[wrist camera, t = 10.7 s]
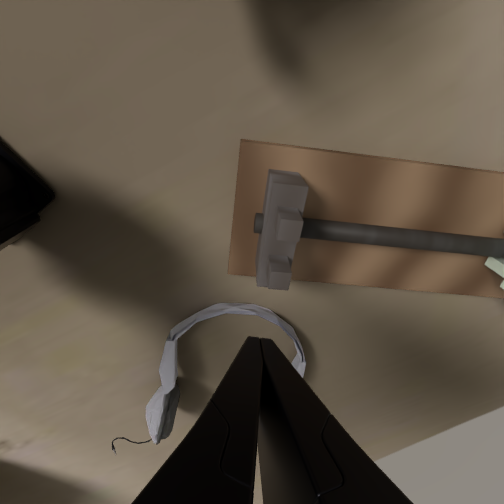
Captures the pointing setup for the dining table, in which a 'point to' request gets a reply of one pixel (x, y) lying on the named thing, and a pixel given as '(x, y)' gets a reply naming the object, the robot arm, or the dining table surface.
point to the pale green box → (496, 266)
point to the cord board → (365, 221)
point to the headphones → (168, 394)
